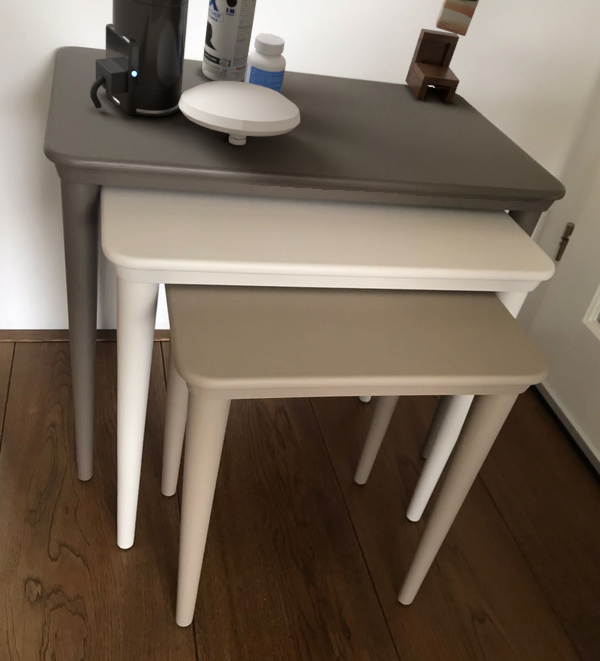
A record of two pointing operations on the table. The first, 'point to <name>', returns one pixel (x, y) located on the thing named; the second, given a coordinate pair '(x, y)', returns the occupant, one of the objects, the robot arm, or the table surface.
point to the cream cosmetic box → (456, 16)
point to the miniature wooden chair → (433, 65)
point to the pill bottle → (266, 62)
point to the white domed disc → (239, 109)
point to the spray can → (228, 39)
